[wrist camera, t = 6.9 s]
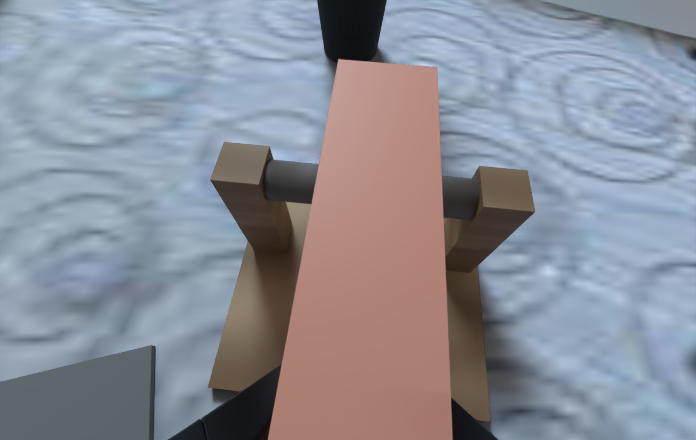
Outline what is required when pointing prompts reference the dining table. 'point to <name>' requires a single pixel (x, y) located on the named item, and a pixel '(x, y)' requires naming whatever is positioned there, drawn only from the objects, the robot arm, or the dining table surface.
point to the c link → (372, 270)
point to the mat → (83, 400)
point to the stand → (287, 247)
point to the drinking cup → (351, 28)
